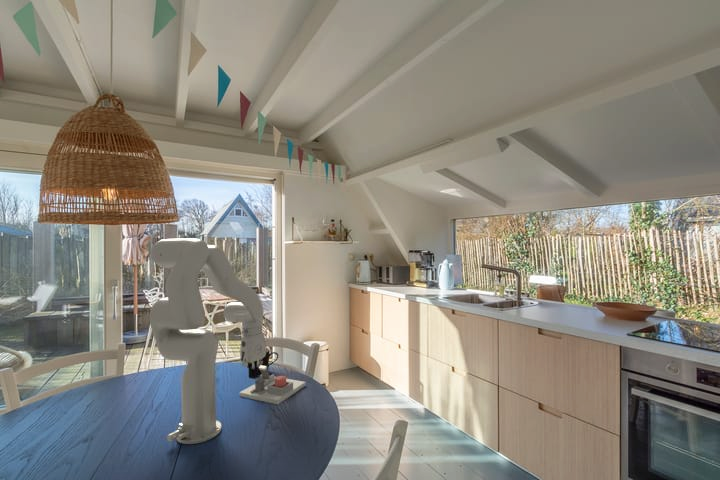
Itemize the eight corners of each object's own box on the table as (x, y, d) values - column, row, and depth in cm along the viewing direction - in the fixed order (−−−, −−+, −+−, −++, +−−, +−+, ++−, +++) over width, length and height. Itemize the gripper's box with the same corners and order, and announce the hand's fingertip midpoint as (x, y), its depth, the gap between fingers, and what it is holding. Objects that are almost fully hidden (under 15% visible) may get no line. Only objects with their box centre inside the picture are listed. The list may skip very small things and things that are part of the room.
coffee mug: (246, 375, 155) (246, 352, 155) (257, 368, 163) (257, 347, 163) (269, 377, 152) (269, 354, 152) (279, 370, 160) (279, 348, 160)
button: (281, 393, 131) (281, 380, 131) (272, 391, 133) (272, 379, 133) (288, 388, 135) (288, 376, 135) (279, 386, 137) (279, 375, 137)
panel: (277, 404, 126) (277, 393, 126) (239, 396, 133) (239, 385, 133) (305, 385, 142) (305, 375, 142) (270, 379, 150) (270, 370, 150)
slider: (260, 392, 132) (260, 382, 132) (255, 391, 133) (255, 381, 133) (264, 390, 134) (264, 379, 134) (259, 389, 135) (259, 379, 135)
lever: (269, 381, 143) (264, 368, 140) (263, 379, 144) (258, 367, 142) (271, 378, 144) (266, 366, 142) (265, 377, 145) (260, 365, 143)
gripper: (246, 336, 129) (247, 386, 128) (272, 327, 142) (273, 372, 142) (230, 334, 132) (231, 383, 132) (257, 325, 145) (258, 370, 145)
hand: (253, 377), depth 137 cm, fingers closed
